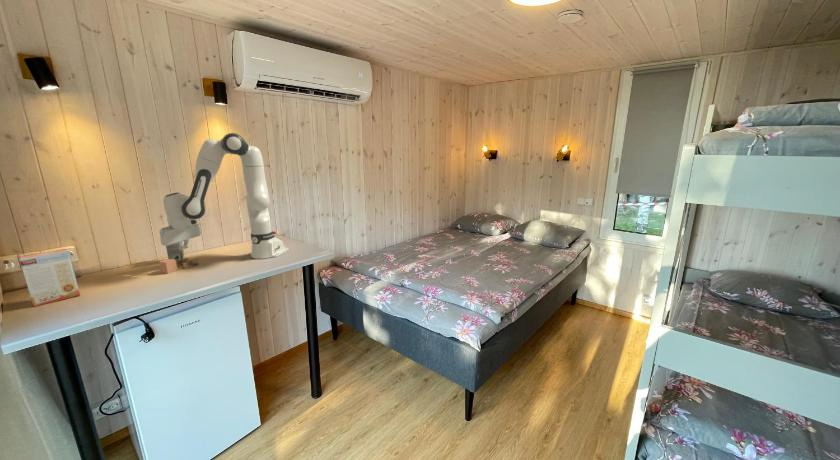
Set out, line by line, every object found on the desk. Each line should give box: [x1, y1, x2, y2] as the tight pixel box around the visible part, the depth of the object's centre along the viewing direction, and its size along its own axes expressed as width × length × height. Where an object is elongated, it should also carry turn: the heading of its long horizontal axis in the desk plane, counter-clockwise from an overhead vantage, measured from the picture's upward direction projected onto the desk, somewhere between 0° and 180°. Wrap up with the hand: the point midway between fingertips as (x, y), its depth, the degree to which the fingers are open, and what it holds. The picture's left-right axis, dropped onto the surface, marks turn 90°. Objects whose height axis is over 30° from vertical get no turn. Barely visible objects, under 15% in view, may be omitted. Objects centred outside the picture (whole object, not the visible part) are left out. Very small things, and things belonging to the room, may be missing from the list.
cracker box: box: [18, 248, 81, 307], centre depth 144 cm, size 14×6×21 cm, turn 141°
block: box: [158, 258, 178, 274], centre depth 177 cm, size 5×5×6 cm
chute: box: [176, 257, 199, 270], centre depth 183 cm, size 15×9×4 cm, turn 163°
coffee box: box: [165, 242, 185, 261], centre depth 195 cm, size 9×6×16 cm
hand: (184, 248), depth 184 cm, fingers closed
